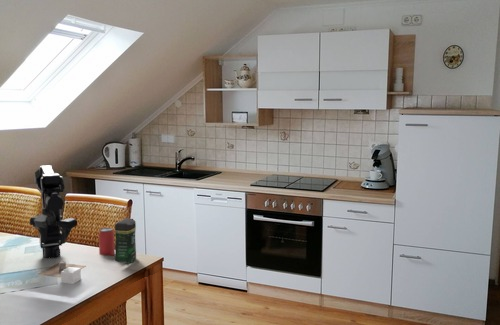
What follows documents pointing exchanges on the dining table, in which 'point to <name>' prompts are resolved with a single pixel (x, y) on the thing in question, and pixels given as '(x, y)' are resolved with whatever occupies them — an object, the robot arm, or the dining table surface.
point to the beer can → (106, 242)
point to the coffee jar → (125, 241)
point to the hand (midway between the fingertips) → (54, 242)
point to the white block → (70, 275)
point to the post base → (56, 267)
